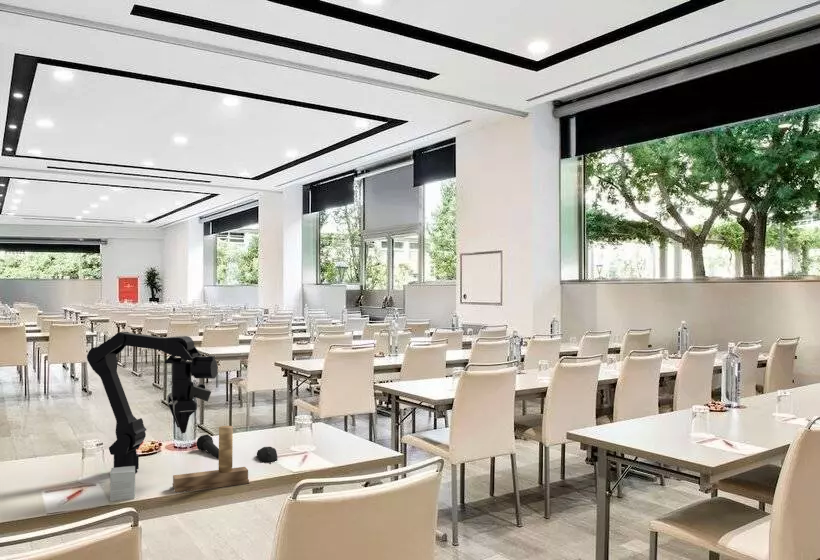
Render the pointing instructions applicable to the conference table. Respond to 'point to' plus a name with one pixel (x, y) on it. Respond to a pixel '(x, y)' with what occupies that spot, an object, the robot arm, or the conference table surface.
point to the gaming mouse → (267, 455)
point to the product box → (122, 483)
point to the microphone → (207, 445)
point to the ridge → (210, 479)
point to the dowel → (225, 448)
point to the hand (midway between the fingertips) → (181, 430)
